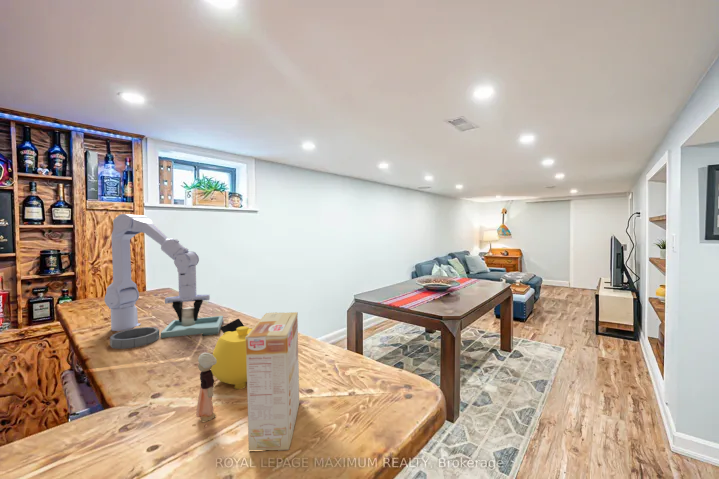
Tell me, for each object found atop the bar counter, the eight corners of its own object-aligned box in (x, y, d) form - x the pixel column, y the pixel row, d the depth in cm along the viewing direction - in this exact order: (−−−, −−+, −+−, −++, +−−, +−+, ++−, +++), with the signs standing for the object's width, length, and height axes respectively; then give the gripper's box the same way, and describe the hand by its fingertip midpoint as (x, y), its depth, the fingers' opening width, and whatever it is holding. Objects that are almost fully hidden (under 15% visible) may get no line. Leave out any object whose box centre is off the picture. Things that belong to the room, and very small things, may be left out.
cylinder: (183, 323, 117) (183, 307, 117) (196, 322, 118) (196, 306, 118) (180, 327, 113) (179, 310, 112) (193, 325, 114) (193, 309, 114)
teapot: (246, 360, 88) (245, 316, 88) (295, 379, 77) (295, 328, 76) (198, 379, 77) (197, 328, 77) (247, 404, 65) (246, 345, 65)
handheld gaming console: (252, 339, 101) (234, 315, 102) (234, 353, 100) (217, 329, 101) (264, 333, 112) (247, 311, 113) (248, 346, 112) (231, 323, 113)
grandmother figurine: (190, 412, 63) (188, 350, 62) (210, 405, 65) (208, 345, 65) (203, 429, 57) (201, 362, 57) (224, 420, 60) (223, 356, 60)
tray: (173, 326, 121) (172, 320, 121) (223, 321, 127) (222, 315, 127) (160, 340, 106) (160, 332, 106) (218, 334, 111) (218, 327, 111)
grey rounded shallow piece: (120, 339, 107) (120, 329, 107) (163, 335, 111) (163, 325, 111) (103, 353, 95) (102, 342, 94) (151, 347, 99) (151, 337, 98)
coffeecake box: (266, 403, 66) (265, 312, 65) (300, 401, 66) (299, 311, 66) (246, 453, 51) (243, 336, 51) (289, 450, 52) (287, 334, 51)
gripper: (161, 287, 109) (163, 326, 109) (207, 285, 114) (208, 321, 114) (167, 284, 116) (168, 320, 116) (210, 282, 120) (211, 316, 121)
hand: (188, 320), depth 115 cm, fingers closed on cylinder, 4 cm apart
